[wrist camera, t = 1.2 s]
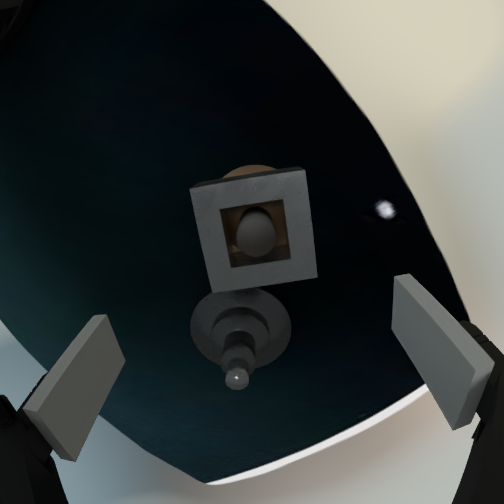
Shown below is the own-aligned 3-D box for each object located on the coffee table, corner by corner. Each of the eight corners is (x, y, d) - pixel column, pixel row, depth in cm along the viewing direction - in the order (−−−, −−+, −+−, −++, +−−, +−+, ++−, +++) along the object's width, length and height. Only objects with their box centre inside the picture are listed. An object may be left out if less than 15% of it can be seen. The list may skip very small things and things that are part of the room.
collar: (198, 182, 28) (189, 188, 24) (298, 166, 27) (304, 170, 24) (217, 274, 31) (212, 293, 27) (309, 260, 30) (317, 277, 27)
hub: (180, 291, 36) (158, 337, 27) (284, 276, 35) (294, 321, 26) (204, 370, 40) (193, 423, 31) (295, 360, 39) (304, 413, 30)
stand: (199, 174, 32) (179, 185, 23) (296, 158, 31) (312, 163, 23) (217, 264, 35) (206, 304, 26) (309, 251, 34) (325, 286, 26)
